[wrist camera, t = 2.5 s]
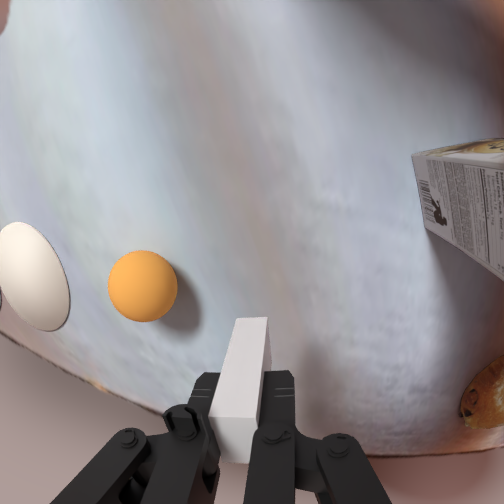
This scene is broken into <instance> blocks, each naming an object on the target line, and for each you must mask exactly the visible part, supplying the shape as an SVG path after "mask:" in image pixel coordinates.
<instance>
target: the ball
mask: <svg viewBox="0 0 504 504" xmlns="http://www.w3.org/2000/svg"><path fill="white" fill-rule="evenodd" d="M108 292H109V296H110V299H111V301H112V303H113V305H114V307H115V308H116V309H117V310H118V311H119V312H120V313H121V314H122V315H123V316H125V317H126V318H128V319H130V320H133V321H137V322H149V321H153V320H156V319H159V318H160V317H162V316H163V315H165V314H166V313H167V312H168V311H169V310H170V308H171V307H172V305H173V304H174V301H175V299H176V295H177V278H176V275H175V273H174V270H173V268H172V267H171V265H170V264H169V263H168V262H167V261H166V260H165V259H164V258H163V257H161V256H160V255H158V254H156V253H154V252H150V251H134V252H131V253H128V254H126V255H124V256H123V257H122V258H120V259H119V260H118V261H117V262H116V263H115V265H114V266H113V268H112V270H111V272H110V275H109V279H108Z"/></svg>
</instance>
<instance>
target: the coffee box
mask: <svg viewBox="0 0 504 504" xmlns="http://www.w3.org/2000/svg"><path fill="white" fill-rule="evenodd" d="M412 160H413V165H414V170H415V174H416V179H417V184H418V189H419V195H420V200H421V206H422V212H423V218H424V225H425V228H426V229H428V230H430V231H431V232H433V233H435V234H436V235H438V236H439V237H441V238H443V239H444V240H446V241H447V242H449V243H450V244H452V245H453V246H455V247H456V248H458V249H459V250H461V251H462V252H464V253H465V254H467V255H468V256H469V257H471V258H472V259H474V260H475V261H476V262H478V263H479V264H481V265H482V266H483V267H485V268H486V269H488V270H489V271H490V272H492V273H493V274H494V275H496V276H497V277H498V278H500V279H501V280H502V281H504V138H491V139H484V140H478V141H473V142H468V143H463V144H458V145H453V146H448V147H443V148H438V149H433V150H428V151H424V152H419V153H415V154H412Z"/></svg>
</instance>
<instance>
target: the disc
mask: <svg viewBox="0 0 504 504" xmlns="http://www.w3.org/2000/svg"><path fill="white" fill-rule="evenodd" d="M0 286H1V289H2V291H3V293H4V295H5V297H6V299H7V301H8V302H9V304H10V305H11V307H12V308H13V309H14V311H15V312H16V313H17V314H18V315H19V316H20V317H21V318H22V319H23V320H24V321H25V322H26V323H28V324H29V325H31V326H33V327H35V328H37V329H39V330H43V331H52V330H55V329H57V328H58V327H60V326H61V325H62V324H63V323H64V321H65V319H66V318H67V315H68V311H69V301H70V299H69V289H68V284H67V279H66V276H65V273H64V270H63V267H62V265H61V262H60V260H59V258H58V256H57V254H56V253H55V251H54V249H53V247H52V246H51V245H50V243H49V242H48V240H47V239H46V238H45V237H44V236H43V235H42V234H41V233H40V232H39V231H38V230H37V229H35V228H34V227H33V226H31V225H29V224H26V223H23V222H13V223H11V224H8V225H7V226H5V227H4V228H3V229H2V231H1V232H0Z"/></svg>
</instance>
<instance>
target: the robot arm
mask: <svg viewBox="0 0 504 504" xmlns="http://www.w3.org/2000/svg"><path fill="white" fill-rule="evenodd" d="M271 364H272V360H271V350H270V339H269V328H268V318H267V317H257V318H237V319H236V322H235V326H234V329H233V333H232V336H231V340H230V343H229V346H228V350H227V353H226V357H225V360H224V364H223V367H222V371H221V373H210V372H204V373H203V374H202V375H201V376H200V377H199V378H198V379H197V380H196V383H195V385H194V388H193V391H192V393H191V397H190V398H189V401H188V404H179V405H176V406H173V407H171V408H169V409H168V410H166V411H165V413H164V414H163V415H162V417H163V419H164V421H165V424H166V426H167V428H168V430H169V432H168V433H165V434H160V435H152V436H146V435H145V434H144V432H143V431H141V430H139V429H137V428H125V429H123V430H120V431H119V432H117V433H116V434H115V435H114V436H113V437H112V438H111V439H110V440H109V442H107V444H106V445H105V446H104V447H103V448H102V449H101V450H100V451H99V452H98V453H97V454H96V455H95V456H94V458H93V459H92V460H91V461H90V462H89V463H88V464H87V465H86V466H85V467H84V468H83V470H81V471H80V472H79V474H78V475H77V476H76V477H75V478H74V479H73V480H72V481H71V482H70V483H69V484H68V485H67V486H66V487H65V488H64V489H63V490H62V491H61V493H60V494H59V495H58V496H57V497H56V498H55V499H54V500H53V501H52V502H51V503H50V504H214V500H215V495H216V491H217V486H218V481H219V477H220V468H219V466H218V463H219V458H220V456H221V459H222V462H228V463H249V469H248V475H247V482H246V488H245V495H244V502H243V504H295V488H296V489H301V490H305V491H310V492H314V493H315V496H316V498H317V501H318V504H392V503H391V501H390V499H389V497H388V495H387V494H386V492H385V490H384V488H383V486H382V484H381V483H380V481H379V479H378V477H377V475H376V474H375V472H374V470H373V468H372V466H371V465H370V462H369V461H368V459H367V457H366V455H365V453H364V451H363V450H362V448H361V446H360V444H359V442H358V441H357V440H356V439H355V438H354V437H352V436H350V435H348V434H342V433H337V434H331V435H329V436H327V437H324V438H323V439H322V440H318V439H313V438H309V437H306V436H304V435H303V434H301V433H300V432H299V431H298V430H297V428H296V426H295V390H294V377H293V376H292V374H291V373H290V371H289V370H284V371H271Z"/></svg>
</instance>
